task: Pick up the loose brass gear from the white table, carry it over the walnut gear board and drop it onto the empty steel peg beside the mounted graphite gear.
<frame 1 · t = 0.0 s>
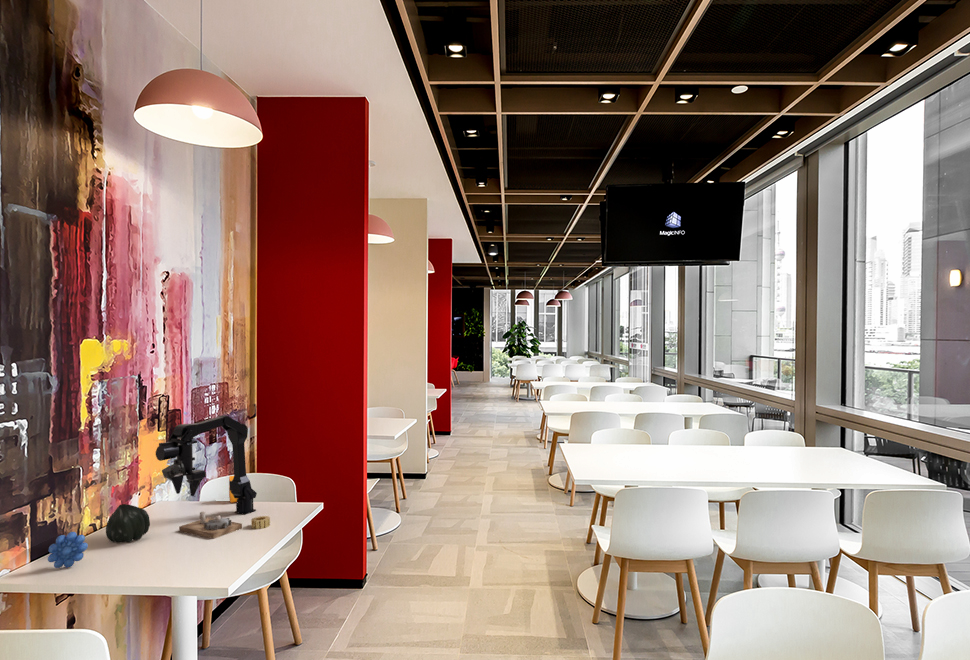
hand: (185, 494, 230), 15 cm above the table, fingers open, 9 cm apart
brass gear: (260, 526, 234), on the table
squash: (128, 540, 222), on the table
bracket: (238, 500, 275), on the table
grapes: (69, 567, 196), on the table
gear board: (210, 530, 231), on the table
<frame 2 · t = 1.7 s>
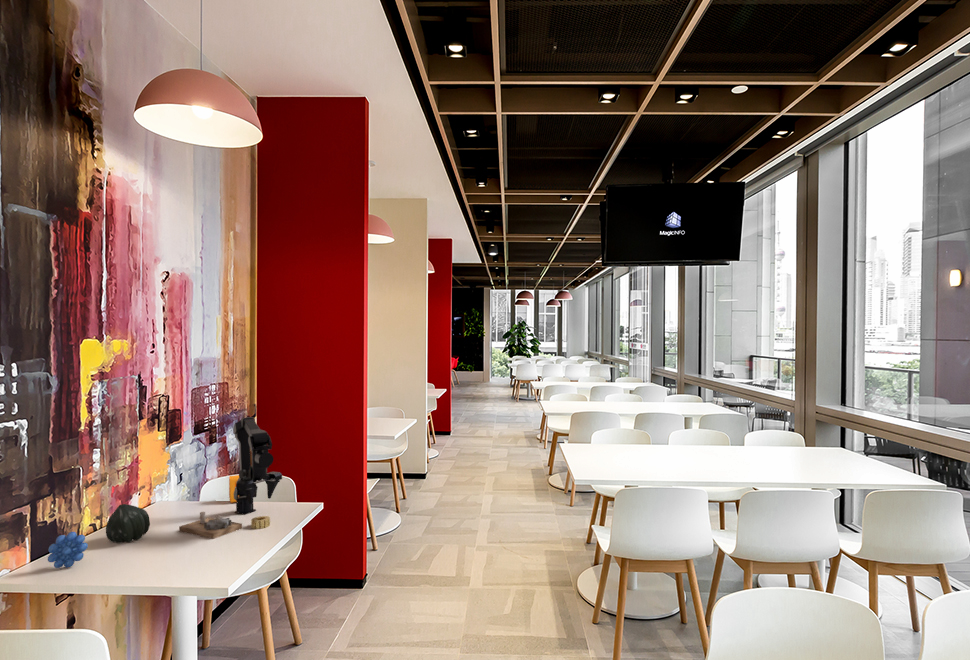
hand: (260, 501, 235), 10 cm above the table, fingers open, 9 cm apart
nothing on the table moved.
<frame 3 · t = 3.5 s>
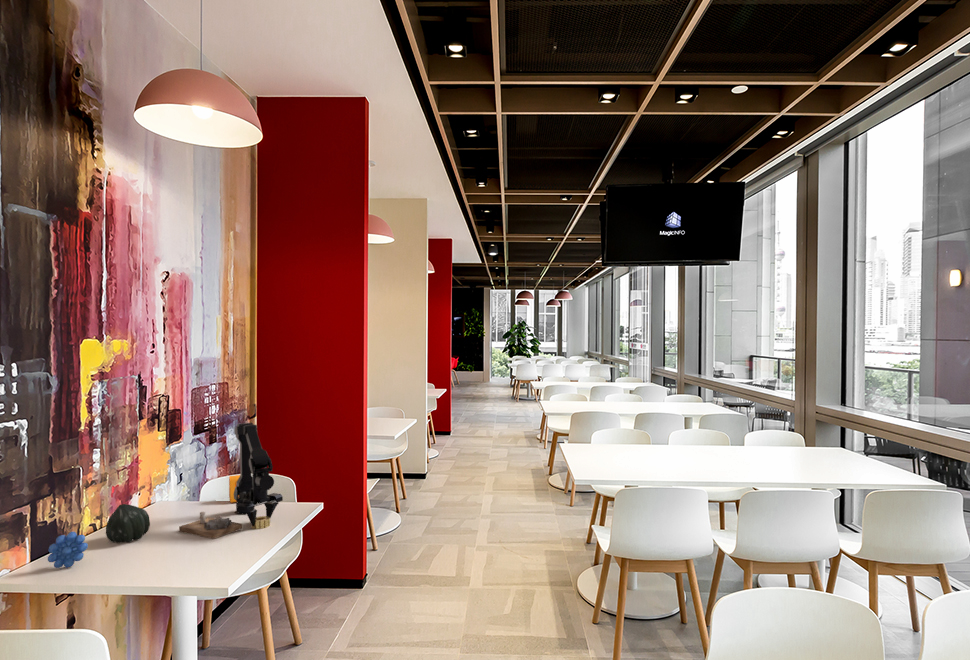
hand: (260, 523, 234), 1 cm above the table, fingers closed on brass gear, 7 cm apart
brass gear: (260, 526, 234), on the table, touching gripper
everything else where it was.
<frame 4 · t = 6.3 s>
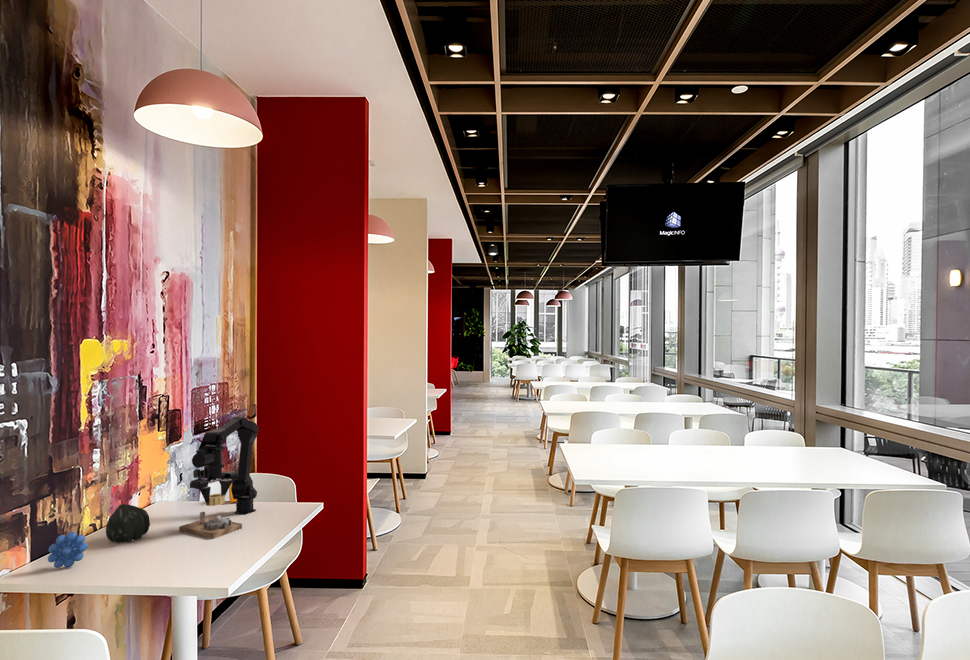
hand: (215, 500, 234), 11 cm above the table, fingers closed on brass gear, 7 cm apart
brass gear: (215, 503, 234), point 10 cm above the table, touching gripper
everything else where it was.
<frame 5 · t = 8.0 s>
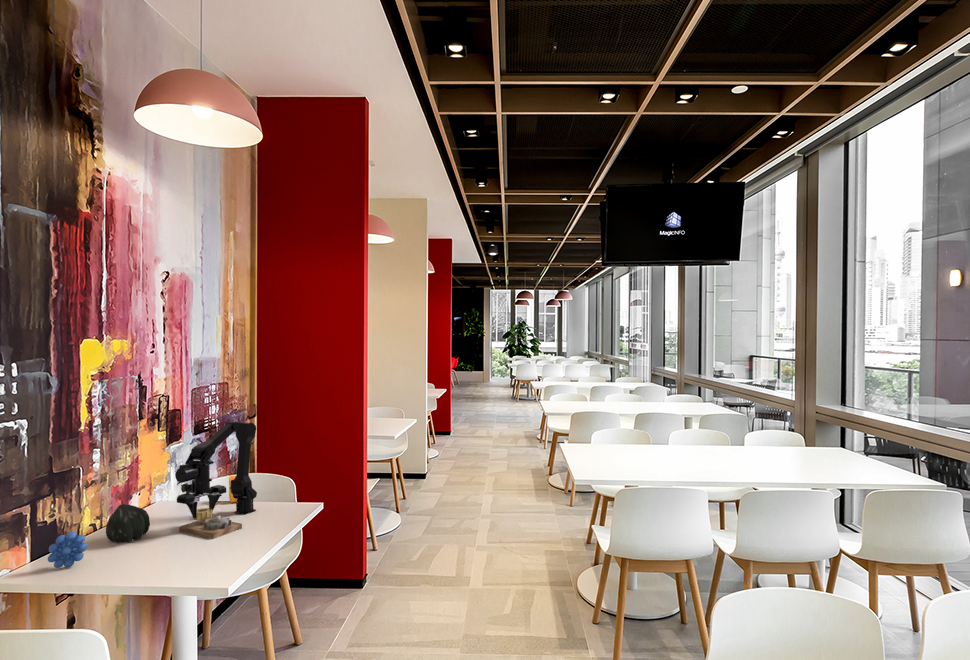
hand: (202, 515, 233), 5 cm above the table, fingers closed on brass gear, 7 cm apart
brass gear: (202, 517, 233), point 4 cm above the table, touching gripper
everything else where it was.
when the fingers open (4 cm above the table, at t = 9.5 s): brass gear drops 1 cm, resting on gear board.
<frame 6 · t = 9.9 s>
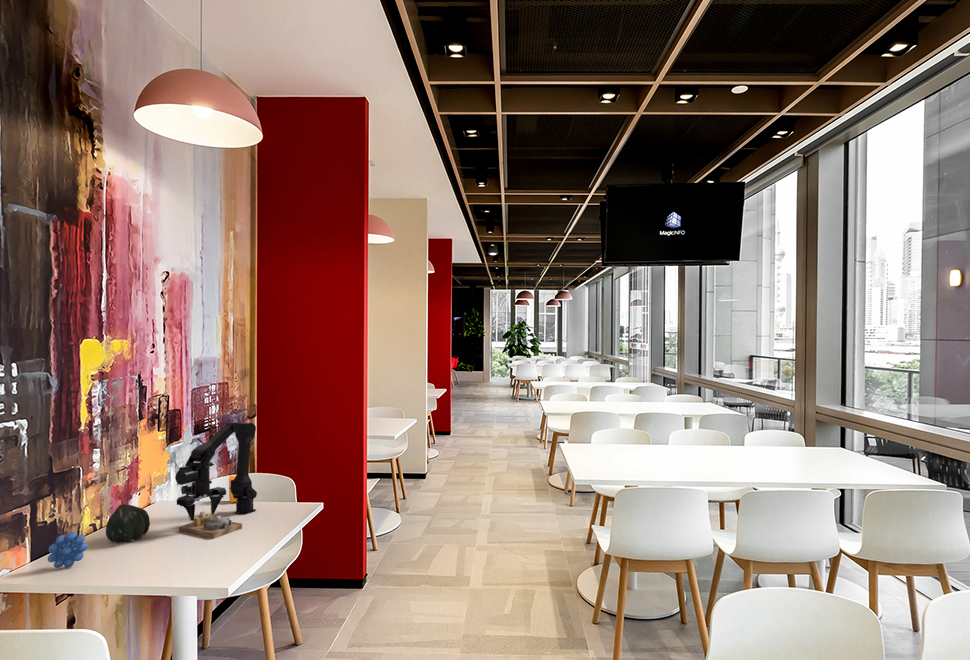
hand: (202, 517, 233), 4 cm above the table, fingers open, 9 cm apart
brass gear: (202, 523, 233), point 2 cm above the table, touching gear board
everything else where it was.
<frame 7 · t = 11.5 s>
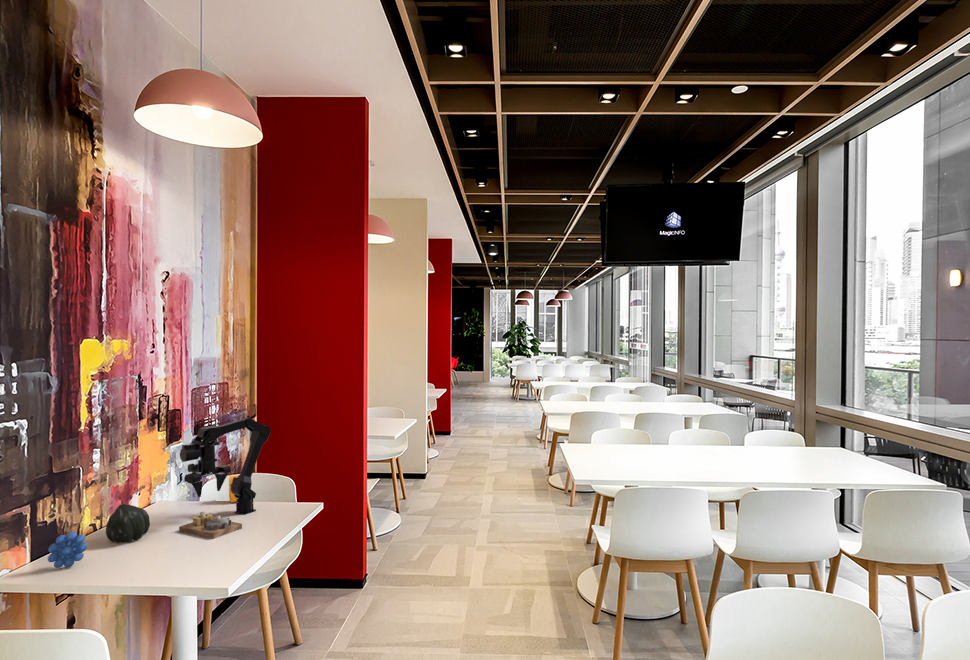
hand: (209, 493, 242), 12 cm above the table, fingers open, 9 cm apart
nothing on the table moved.
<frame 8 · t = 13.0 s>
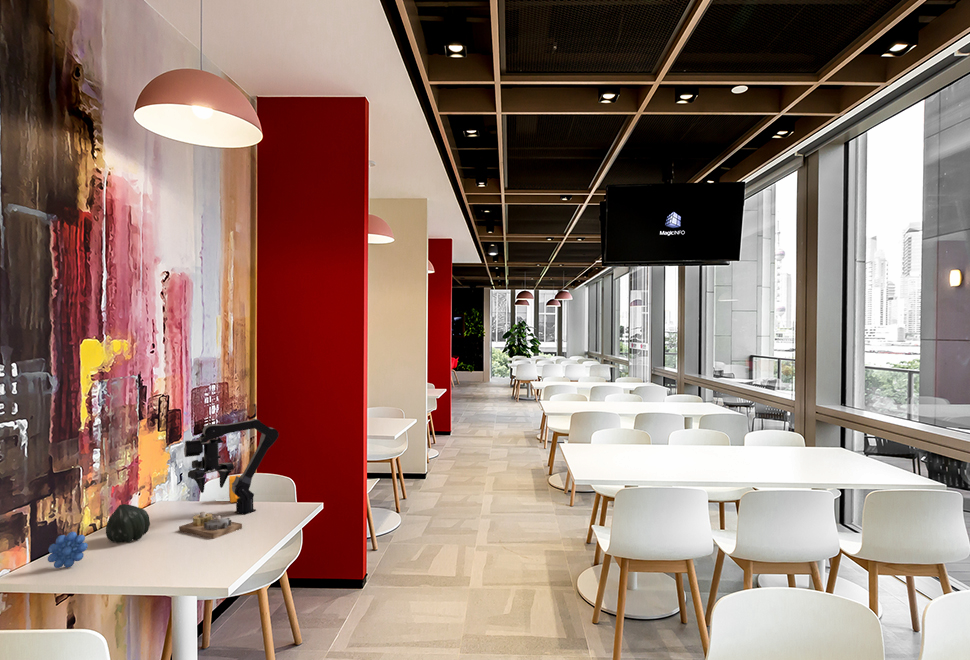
hand: (211, 490, 247), 12 cm above the table, fingers open, 9 cm apart
nothing on the table moved.
at the end: brass gear 0.1 cm from the target spot on the gear board, point 2.0 cm above the gear board's base; brass gear tilted 0°; the gripper is holding nothing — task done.
